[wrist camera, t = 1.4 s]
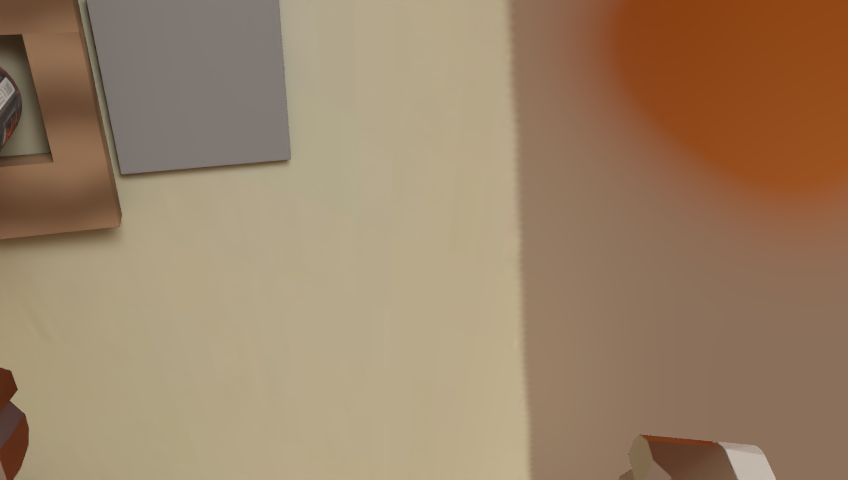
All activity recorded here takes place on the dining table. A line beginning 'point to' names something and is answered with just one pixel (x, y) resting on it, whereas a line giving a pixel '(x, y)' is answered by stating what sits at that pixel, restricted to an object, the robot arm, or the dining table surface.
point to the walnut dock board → (58, 130)
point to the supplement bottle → (8, 106)
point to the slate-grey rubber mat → (192, 81)
